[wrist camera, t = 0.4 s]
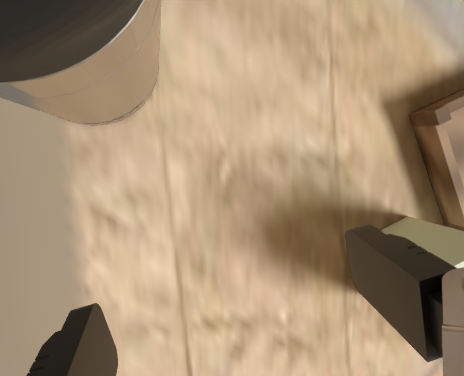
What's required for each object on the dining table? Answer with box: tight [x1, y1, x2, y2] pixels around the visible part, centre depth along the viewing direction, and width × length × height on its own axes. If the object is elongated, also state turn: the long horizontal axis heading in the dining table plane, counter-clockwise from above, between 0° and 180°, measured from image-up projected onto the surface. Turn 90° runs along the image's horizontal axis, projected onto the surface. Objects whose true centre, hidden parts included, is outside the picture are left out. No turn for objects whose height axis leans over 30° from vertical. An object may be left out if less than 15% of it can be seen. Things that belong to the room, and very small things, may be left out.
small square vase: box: [380, 216, 464, 268], centre depth 28 cm, size 5×6×9 cm
